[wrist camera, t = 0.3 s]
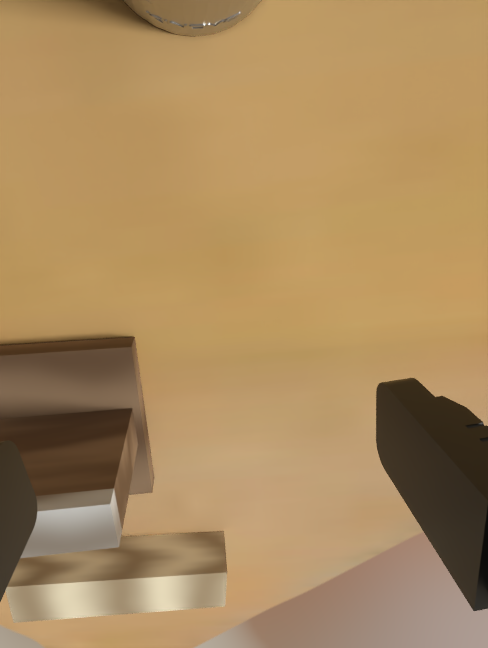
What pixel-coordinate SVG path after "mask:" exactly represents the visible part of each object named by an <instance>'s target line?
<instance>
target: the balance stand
mask: <svg viewBox="0 0 488 648" xmlns="http://www.w3.org/2000/svg"><path fill="white" fill-rule="evenodd" d="M7 440H10V441H12V442H14V443H15V445H16V446H17V448H18V450H19V453H20V455H21V458H22V461H23V463H24V466H25V469H26V471H27V474H28V477H29V479H30V482H31V484H32V487H33V490H34V492H35V495H36V499H37V519H36V523H35V526H34V529H33V531H32V533H31V535H30V538H29V540H28V542H27V544H26V546H25V549H24V551H23V553H22V555H21V557H20V558H27V557H36V556H45V555H54V554H63V553H72V552H81V551H90V550H99V549H108V548H117V547H119V544H120V539H121V534H122V528H123V523H124V517H125V512H126V507H127V501H128V496H129V495H132V494H142V493H152V492H153V483H154V473H153V465H152V458H151V451H150V444H149V437H148V429H147V422H146V415H145V408H144V401H143V393H142V386H141V379H140V372H139V365H138V357H137V350H136V343H135V337H124V338H109V339H93V340H77V341H62V342H46V343H31V344H15V345H0V442H1V441H7Z"/></svg>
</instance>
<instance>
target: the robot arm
mask: <svg viewBox="0 0 488 648" xmlns="http://www.w3.org/2000/svg"><path fill="white" fill-rule="evenodd" d="M123 1H124V2H125V3H126V4H127V5H128V6H129V7H130V8H131V9H132V10H133V11H134V12H135V13H136V14H137V15H139V16H140V17H142V18H143V19H145V20H147V21H148V22H150V23H151V24H153V25H154V26H156V27H158V28H161V29H163V30H166V31H169V32H171V33H174V34H179V35H187V36H194V37H195V36H203V35H211V34H215V33H218V32H221V31H223V30H226V29H228V28H231V27H233V26H234V25H235V24H237V23H238V22H240V21H241V20H242V19H244V18H245V17H247V16H248V15H249V14H250V13H251V12H252V11H253V9H254V8H255V7H256V6H257V5H258V4H259V3H260V2H261V0H123ZM376 443H377V450H378V454H379V457H380V460H381V463H382V465H383V467H384V469H385V471H386V472H387V474H388V475H389V477H390V479H391V480H392V482H393V483H394V485H395V487H396V488H397V490H398V491H399V493H400V495H401V496H402V498H403V499H404V501H405V503H406V504H407V506H408V507H409V509H410V510H411V512H412V514H413V515H414V517H415V518H416V520H417V522H418V523H419V525H420V526H421V528H422V530H423V531H424V533H425V534H426V536H427V537H428V539H429V541H430V542H431V544H432V545H433V547H434V549H435V550H436V552H437V553H438V555H439V557H440V558H441V559H442V561H443V563H444V564H445V566H446V568H447V569H448V571H449V572H450V574H451V576H452V577H453V579H454V580H455V582H456V583H457V585H458V587H459V588H460V590H461V591H462V593H463V595H464V596H465V598H466V599H467V601H468V603H469V604H470V606H471V607H472V609H473V611H477V610H482V609H487V608H488V426H484V424H483V422H482V421H481V420H480V419H479V418H478V417H476V416H475V415H474V414H473V413H472V412H471V411H470V410H468V409H467V408H466V407H464V406H462V405H460V404H458V403H456V402H454V401H452V400H450V399H448V398H446V397H443V396H439V397H435V396H433V395H432V394H431V393H430V392H429V391H428V390H427V389H426V388H425V387H424V386H423V385H422V384H421V383H420V382H419V381H418V380H416V379H415V378H408V379H401V380H395V381H389V382H382V383H379V385H378V387H377V393H376ZM36 519H37V499H36V495H35V492H34V490H33V487H32V484H31V482H30V479H29V477H28V474H27V471H26V469H25V466H24V463H23V461H22V458H21V455H20V453H19V450H18V448H17V446H16V445H15V443H14V442H12V441H10V440H7V441H1V442H0V601H1V599H2V597H3V595H4V593H5V590H6V588H7V586H8V584H9V582H10V579H11V577H12V575H13V573H14V571H15V568H16V566H17V564H18V562H19V560H20V557H21V555H22V553H23V551H24V549H25V546H26V544H27V542H28V540H29V538H30V535H31V533H32V531H33V529H34V526H35V523H36Z"/></svg>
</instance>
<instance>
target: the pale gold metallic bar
mask: <svg viewBox="0 0 488 648" xmlns="http://www.w3.org/2000/svg"><path fill="white" fill-rule="evenodd" d="M226 583H227V564H226V552H225V539H224V531H217V532H198V533H180V534H162V535H143V536H125V537H121V539H120V544H119V547H117V548H108V549H99V550H90V551H81V552H72V553H63V554H54V555H45V556H36V557H27V558H20V560H19V562H18V564H17V566H16V568H15V571H14V573H13V575H12V577H11V579H10V582H9V584H8V586H7V588H6V594H7V598H8V602H9V606H10V610H11V614H12V618H13V622H14V623H16V622H29V621H42V620H55V619H68V618H81V617H94V616H107V615H120V614H133V613H146V612H159V611H172V610H185V609H198V608H211V607H224V606H225V599H226Z"/></svg>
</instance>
